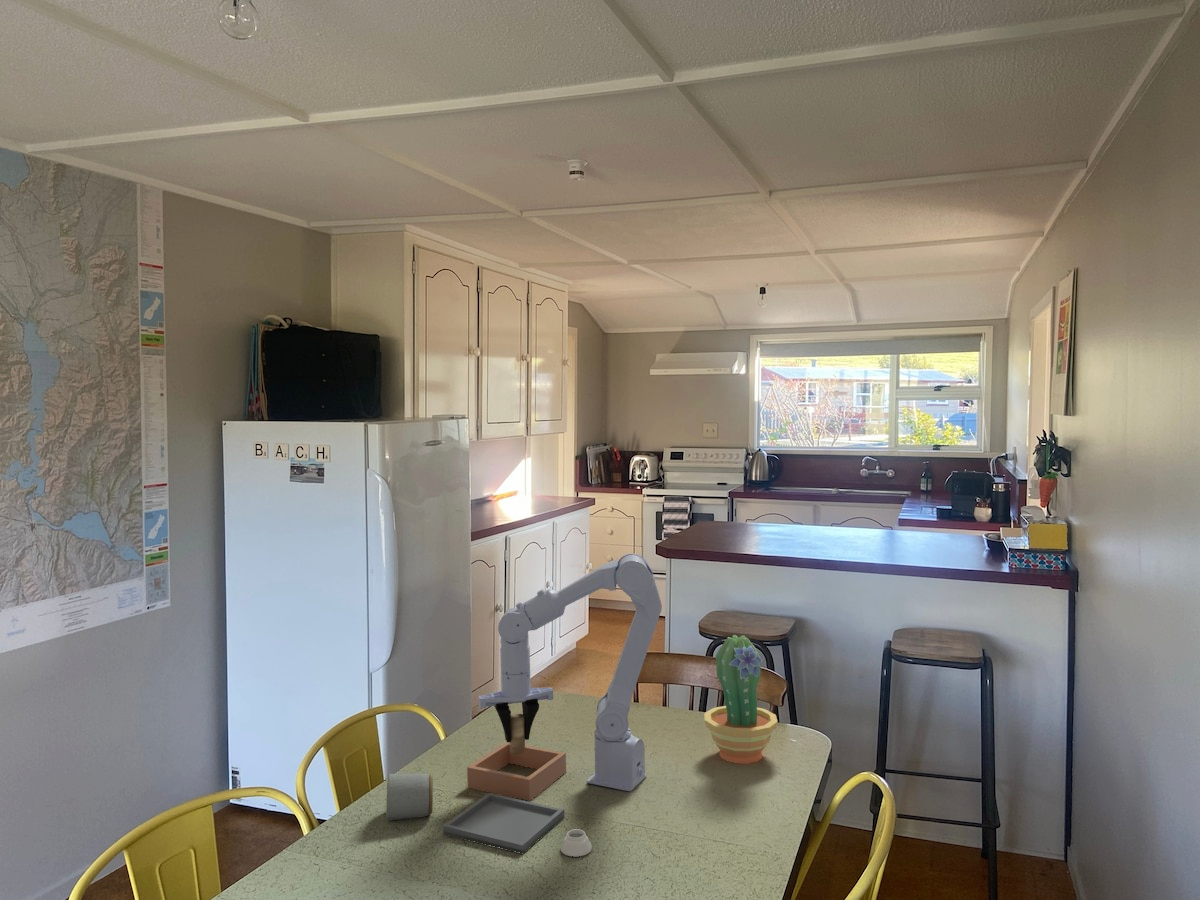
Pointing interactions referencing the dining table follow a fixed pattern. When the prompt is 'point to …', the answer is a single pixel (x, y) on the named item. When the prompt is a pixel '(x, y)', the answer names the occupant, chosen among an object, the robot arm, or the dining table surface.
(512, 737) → the maple pin
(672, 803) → the dining table surface
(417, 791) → the ceramic mug
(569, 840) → the white jar
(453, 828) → the slate tray
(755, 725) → the potted cactus
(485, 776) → the terracotta planter box
